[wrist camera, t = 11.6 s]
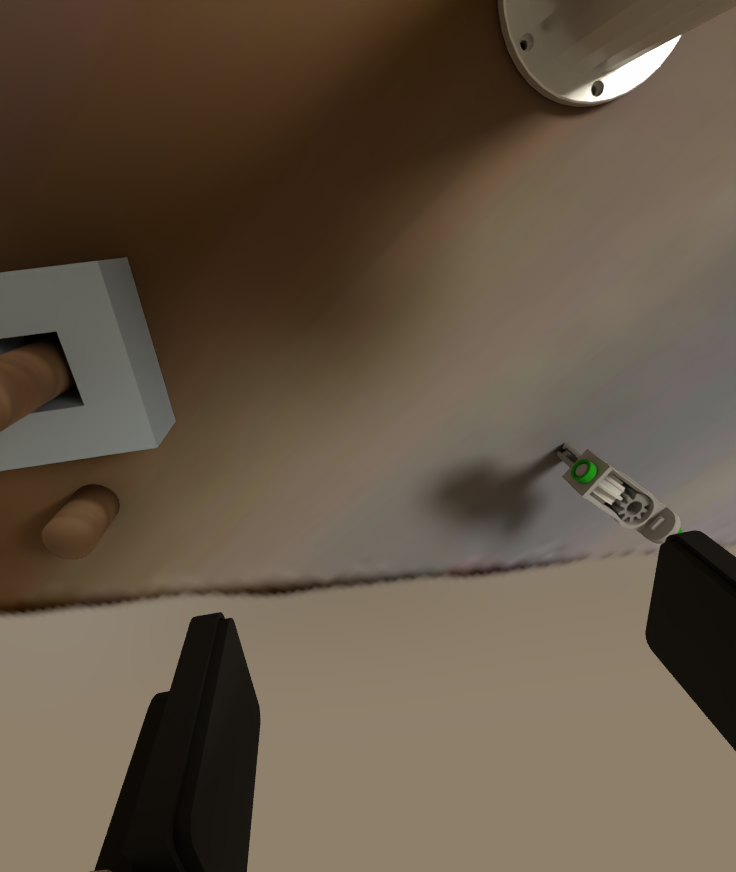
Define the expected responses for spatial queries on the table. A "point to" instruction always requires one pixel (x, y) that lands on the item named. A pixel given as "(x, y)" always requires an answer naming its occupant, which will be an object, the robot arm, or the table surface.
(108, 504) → the short dowel
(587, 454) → the mechanical component
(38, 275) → the hole block
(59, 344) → the long dowel
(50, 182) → the table surface
